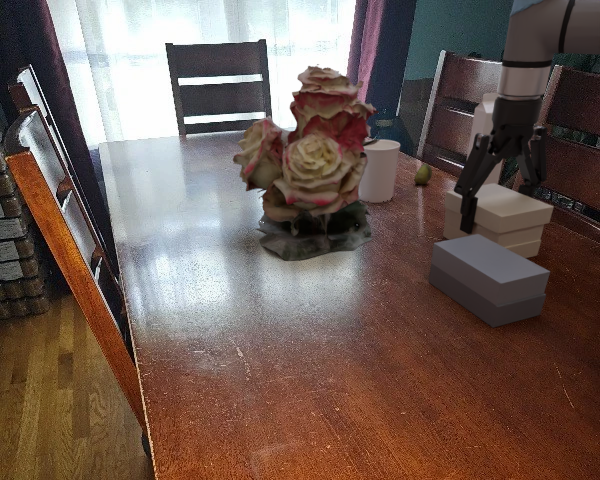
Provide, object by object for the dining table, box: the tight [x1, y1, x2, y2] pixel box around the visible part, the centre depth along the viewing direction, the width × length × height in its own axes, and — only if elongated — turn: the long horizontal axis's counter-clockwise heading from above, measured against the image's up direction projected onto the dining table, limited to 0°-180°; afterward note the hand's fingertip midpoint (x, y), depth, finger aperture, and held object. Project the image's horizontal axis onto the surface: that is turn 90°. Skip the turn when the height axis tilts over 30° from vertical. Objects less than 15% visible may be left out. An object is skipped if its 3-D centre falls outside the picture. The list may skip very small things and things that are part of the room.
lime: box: [413, 163, 433, 185], centre depth 131 cm, size 4×5×5 cm
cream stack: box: [442, 208, 545, 259], centre depth 98 cm, size 16×10×6 cm, turn 23°
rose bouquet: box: [232, 63, 381, 261], centre depth 97 cm, size 26×29×30 cm
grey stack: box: [428, 234, 551, 329], centre depth 81 cm, size 17×9×7 cm, turn 23°
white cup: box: [358, 139, 401, 204], centre depth 121 cm, size 10×10×12 cm
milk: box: [465, 92, 504, 185], centre depth 115 cm, size 6×6×22 cm
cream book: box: [443, 183, 554, 234], centre depth 96 cm, size 16×12×3 cm
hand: (492, 226), depth 98 cm, fingers open, 12 cm apart
